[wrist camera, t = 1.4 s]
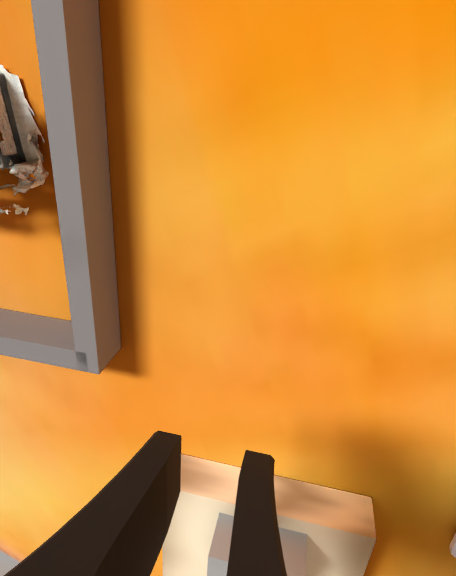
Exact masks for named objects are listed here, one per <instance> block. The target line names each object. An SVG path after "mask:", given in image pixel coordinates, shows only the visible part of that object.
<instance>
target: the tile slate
mask: <svg viewBox="0 0 456 576" xmlns="http://www.w3.org/2000/svg"><path fill="white" fill-rule="evenodd" d="M233 520H234V516H232V515H228V514H224V513H220V512H219V516H218V519H217V523H216V527H215V531H214V535H213V539H212V543H211V547H210V551H209V555H208V565H207V576H226V575H227V568H228V560H229V552H230V544H231V536H232V528H233ZM279 533H280V539H281V545H282V551H283V557H284V562H285V568H286V573H287V576H305V572H306V547H307V534H304V533H300V532H296V531H292V530H288V529H284V528H280V527H279Z"/></svg>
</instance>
